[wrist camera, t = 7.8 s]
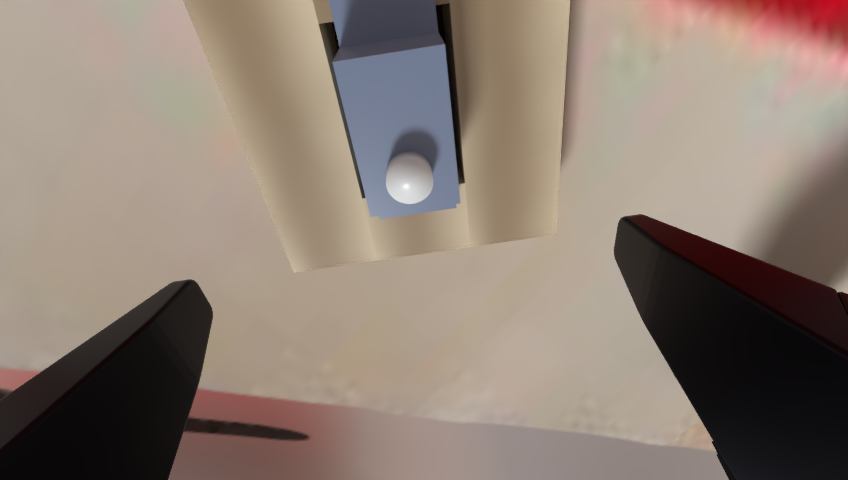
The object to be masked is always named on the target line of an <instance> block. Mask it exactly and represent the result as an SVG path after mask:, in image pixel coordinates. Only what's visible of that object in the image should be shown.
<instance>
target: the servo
mask: <svg viewBox="0 0 848 480" xmlns="http://www.w3.org/2000/svg"><path fill="white" fill-rule="evenodd" d="M329 4H330V8H331V13H332V17H333V21H334V25H335V30H336V34H337V38H338V43H339V47H340V48H339V50H338V52H337V54H336V56H335V58H334V60H333V61H332V63H333V67H334V72H335V76H336V80H337V84H338V88H339V92H340V96H341V100H342V104H343V108H344V112H345V116H346V120H347V124H348V128H349V132H350V136H351V140H352V144H353V148H354V152H355V156H356V161H357V165H358V169H359V173H360V177H361V181H362V185H363V189H364V193H365V197H366V201H367V205H368V209H369V213H370V217H373V216H379V219H385V218H392V217H399V216H406V215H412V214H419V213H426V212H432V211H439V210H446V209H452V208H457V207H456V204H460V193H459V183H458V172H457V162H456V152H455V142H454V131H453V121H452V111H451V101H450V90H449V80H448V70H447V60H446V49H445V43H444V41H443V40H442V38H441V36H440V34H439V33H438V25H437V16H436V6H435V0H329Z"/></svg>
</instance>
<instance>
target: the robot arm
mask: <svg viewBox="0 0 848 480" xmlns="http://www.w3.org/2000/svg"><path fill="white" fill-rule="evenodd" d="M614 256H615V260H616V262H617V264H618V267H619V269H620V271H621V273H622V276H623V278H624V280H625V283H626V285H627V287H628V289H629V292H630V294H631V296H632V298H633V301H634V303H635V305H636V308H637V310H638V312H639V314H640V316H641V318H642V320H643V322H644V324H645V326H646V327H647V329H648V331H649V333H650V334H651V336H652V338H653V339H654V341H655V343H656V345H657V346H658V348H659V350H660V351H661V353H662V355H663V356H664V358H665V360H666V361H667V363H668V365H669V367H670V368H671V370H672V372H673V373H674V376H675V377H676V379H677V380H678V382H679V383H680V385H681V387H682V389H683V390H684V392H685V394H686V395H687V397H688V399H689V400H690V402H691V404H692V405H693V407H694V409H695V411H696V412H697V414H698V416H699V417H700V419H701V421H702V422H703V424H704V426H705V427H706V429H707V431H708V433H709V434H710V436H711V438H712V439H713V441H712V443H713V445H714V447H715V449H716V451H717V453H718V454H717V457H718V459H719V461H720V463H721V465H722V466H723V468H724V470H725V472H726V474H727V476H728V478H729V480H848V294H846V293H843V292H838V293H837V291H836V290H835V289H833V288H830V287H828V286H825V285H823V284H820V283H817V282H815V281H812V280H810V279H807V278H805V277H802V276H799V275H797V274H794V273H792V272H789V271H787V270H784V269H781V268H779V267H776V266H774V265H771V264H769V263H766V262H763V261H761V260H758V259H756V258H753V257H751V256H748V255H745V254H743V253H740V252H738V251H735V250H733V249H730V248H727V247H725V246H722V245H720V244H717V243H715V242H712V241H709V240H707V239H704V238H702V237H699V236H697V235H694V234H691V233H689V232H686V231H684V230H681V229H679V228H676V227H673V226H671V225H668V224H666V223H663V222H661V221H658V220H655V219H653V218H650V217H648V216H645V215H642V214H638V215H631V216H624V217H622V218H621V219H620V220H619V223H618V227H617V233H616V240H615V246H614ZM212 319H213V311H212V308H211V305H210V304H209V302H208V300H207V298H206V297H205V295H204V293H203V292H202V290H201V288H200V287H199V285H198V284H197V282H195V281H194V280H191V279H189V280H182V281H175V282H172V283H170V284H169V285H167V286H166V287H164V288H163V289H161V290H160V291H159V292H157V293H156V294H154V295H153V296H151V297H150V298H148V299H147V300H145V301H144V302H142V303H141V304H140V305H138V306H137V307H135V308H134V309H132V310H131V311H129V312H128V313H126V314H125V315H124V316H122V317H121V318H119V319H118V320H116V321H115V322H113V323H112V324H110V325H109V326H107V327H106V328H105V329H103V330H102V331H100V332H99V333H97V334H96V335H94V336H93V337H91V338H90V339H89V340H87V341H86V342H84V343H83V344H81V345H80V346H78V347H77V348H75V349H74V350H72V351H71V352H70V353H68V354H67V355H65V356H64V357H62V358H61V359H59V360H58V361H56V362H55V363H54V364H52V365H51V366H49V367H48V368H46V369H45V370H43V371H42V372H40V373H39V374H38V375H36V376H35V377H33V378H32V379H30V380H29V381H27V382H26V383H24V384H23V385H21V386H20V387H19V388H17V389H16V390H14V391H13V392H11V393H10V394H8V395H7V396H5V397H4V398H3V399H1V400H0V480H168V478H169V475H170V471H171V469H172V465H173V462H174V459H175V456H176V453H177V450H178V447H179V444H180V441H181V438H182V435H183V432H184V428H185V425H186V422H187V419H188V416H189V413H190V410H191V407H192V404H193V400H194V397H195V394H196V391H197V388H198V384H199V381H200V377H201V372H202V368H203V363H204V358H205V353H206V348H207V343H208V338H209V334H210V329H211V324H212Z"/></svg>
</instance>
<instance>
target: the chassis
mask: <svg viewBox="0 0 848 480" xmlns="http://www.w3.org/2000/svg"><path fill="white" fill-rule="evenodd" d="M183 1H184V3H185V5H186V8H187V10H188V13H189V15H190V18H191V20H192V23H193V25H194V28H195V30H196V33H197V35H198V38H199V40H200V42H201V45H202V47H203V50H204V52H205V55H206V57H207V60H208V62H209V65H210V67H211V70H212V72H213V75H214V77H215V79H216V82H217V84H218V87H219V89H220V92H221V94H222V97H223V99H224V102H225V104H226V107H227V109H228V112H229V114H230V116H231V119H232V121H233V124H234V126H235V129H236V131H237V134H238V136H239V139H240V141H241V144H242V146H243V148H244V151H245V153H246V156H247V158H248V161H249V163H250V166H251V168H252V171H253V173H254V176H255V178H256V181H257V183H258V185H259V188H260V190H261V193H262V195H263V198H264V200H265V203H266V205H267V208H268V210H269V213H270V215H271V218H272V220H273V222H274V225H275V227H276V230H277V232H278V235H279V237H280V240H281V242H282V245H283V247H284V250H285V252H286V255H287V257H288V259H289V262H290V264H291V267H292V269H293V272H300V271H307V270H314V269H321V268H328V267H334V266H341V265H348V264H355V263H362V262H369V261H376V260H383V259H390V258H397V257H404V256H411V255H417V254H424V253H431V252H438V251H445V250H452V249H459V248H466V247H473V246H480V245H487V244H493V243H500V242H507V241H514V240H521V239H528V238H535V237H542V236H549V235H556V228H557V211H558V194H559V178H560V161H561V145H562V128H563V111H564V95H565V78H566V61H567V45H568V28H569V12H570V0H435V5H441V4H442V8H443V19H444V30H445V40H446V51H447V61H448V72H449V83H450V93H451V104H452V114H453V125H454V135H455V146H456V162H457V172H458V183H459V193H460V204H456V207H457V208H452V209H446V210H439V211H432V212H426V213H419V214H412V215H406V216H399V217H392V218H385V219H379V216H373V217H370V213H369V209H368V205H367V201H366V197H365V193H364V189H363V185H362V181H361V177H360V173H359V169H358V165H357V161H356V156H355V152H354V148H353V144H352V140H351V136H350V132H349V128H348V124H347V120H346V116H345V112H344V108H343V104H342V100H341V96H340V92H339V88H338V84H337V80H336V76H335V72H334V67H333V63H332V61H333V60H334V58H335V56H336V54H337V52H338V49H337V44H336V40H335V36H334V32H333V27H332V23H331V22H334V21H333V17H332V13H331V8H330V4H329V0H183Z"/></svg>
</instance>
